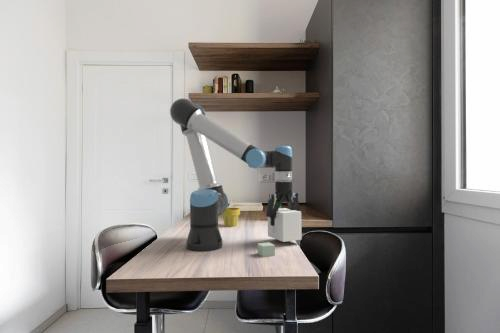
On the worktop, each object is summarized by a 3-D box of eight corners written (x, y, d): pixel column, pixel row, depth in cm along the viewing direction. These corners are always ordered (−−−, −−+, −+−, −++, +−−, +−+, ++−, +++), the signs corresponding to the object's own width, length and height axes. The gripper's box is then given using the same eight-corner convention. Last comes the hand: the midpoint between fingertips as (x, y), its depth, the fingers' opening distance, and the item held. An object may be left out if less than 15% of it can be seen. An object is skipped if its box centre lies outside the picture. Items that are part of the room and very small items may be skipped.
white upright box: (283, 241, 136) (283, 213, 136) (267, 235, 148) (267, 209, 148) (301, 239, 140) (301, 211, 140) (285, 233, 152) (285, 208, 152)
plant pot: (229, 228, 176) (229, 210, 176) (217, 225, 184) (217, 208, 184) (243, 225, 183) (243, 208, 183) (232, 223, 191) (232, 206, 191)
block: (262, 257, 121) (262, 246, 120) (257, 253, 125) (257, 243, 125) (274, 255, 122) (274, 245, 122) (269, 252, 127) (269, 242, 127)
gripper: (265, 182, 136) (266, 236, 136) (309, 180, 145) (309, 231, 145) (257, 181, 142) (258, 232, 142) (299, 180, 152) (299, 228, 152)
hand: (284, 231), depth 144 cm, fingers closed on white upright box, 9 cm apart
